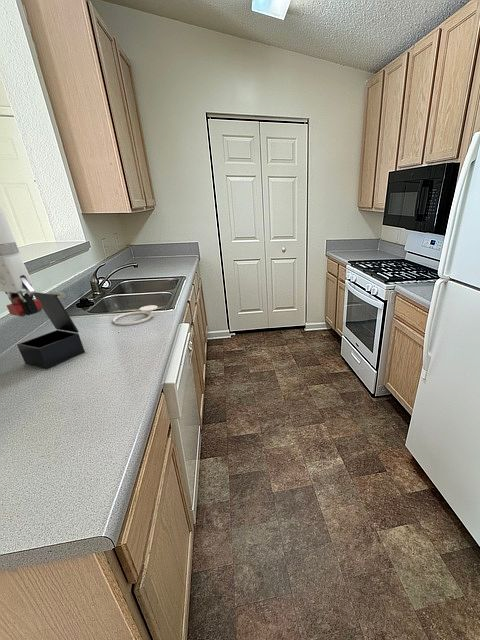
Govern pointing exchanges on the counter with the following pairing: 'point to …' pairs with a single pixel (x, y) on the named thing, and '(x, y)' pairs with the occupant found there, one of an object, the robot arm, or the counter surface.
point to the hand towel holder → (145, 308)
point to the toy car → (17, 307)
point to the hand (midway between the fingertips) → (27, 312)
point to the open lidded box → (51, 349)
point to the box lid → (56, 310)
